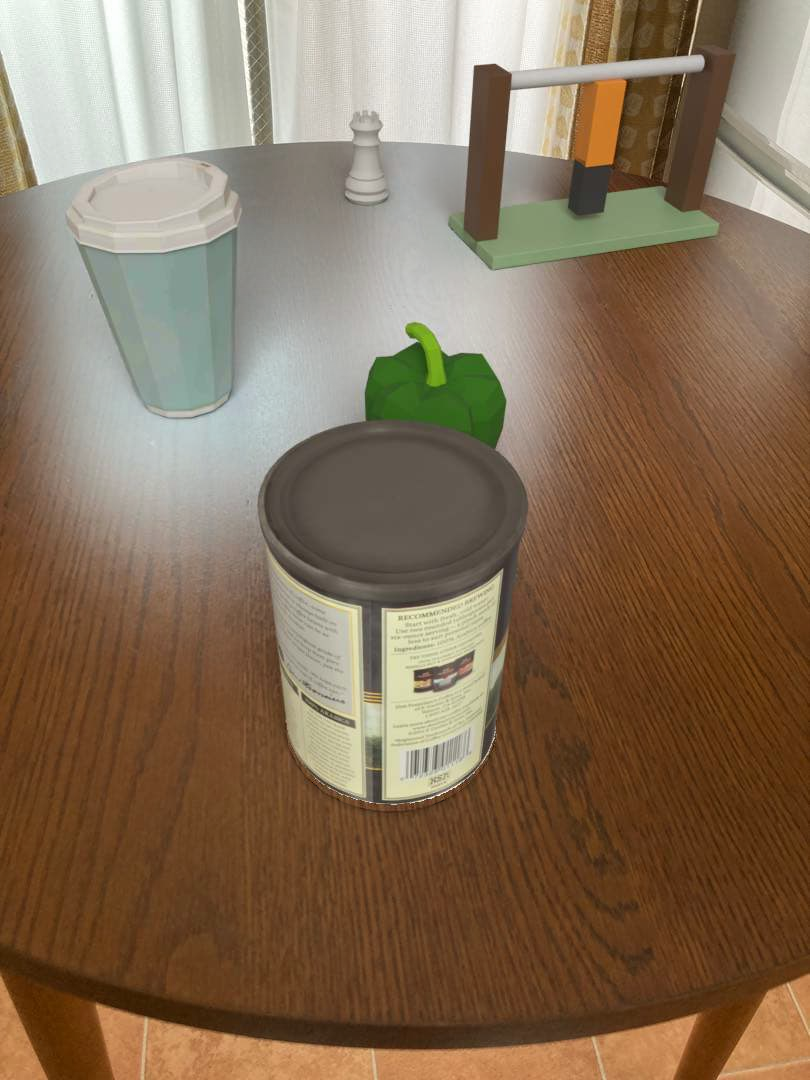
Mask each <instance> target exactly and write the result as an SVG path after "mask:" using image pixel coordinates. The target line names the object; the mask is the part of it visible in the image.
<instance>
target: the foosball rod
mask: <svg viewBox="0 0 810 1080" xmlns="http://www.w3.org/2000/svg"><path fill="white" fill-rule="evenodd" d="M704 63H705V61H704V57H703V56H702V55H694V54H691V55H679V56H670V57H669V56H668V57H657V58H645V59H637V60H636V59H635V60H626V61H625V60H624V61H623V60H622V61H612V62H603V63H590V64H578V65H567V66H557V67H546V68H536V69H535V68H534V69H523V70H522V69H521V70H511V71H509V72H510V73H511V74H512V80H511V91H519V90H529V89H540V88H550V87H560V86H571V85H581V84H583V86H582V87H583V88H582V95H581V101H580V109H579V116H578V123H577V130H576V137H575V143H574V144H575V145H574V151H573V167H572V174H571V181H570V188H569V196H568V198H569V202H568V209H570V210H571V211H572V212H573V213H575V214H576V215H577V216H581V215H588V214H595V213H603V212H604V208H605V202H606V196H607V193H608V189H609V184H610V183H609V182H610V176H611V171H612V165H613V164H614V160H615V155H616V154H615V153H616V147H617V142H618V136H619V129H620V123H621V118H622V111H623V106H624V99H625V94H626V87H627V80H635V79H644V78H645V79H646V78H654V77H663V76H664V77H665V76H675V75H676V76H677V75H686V74H687V75H688V74H691V73H698V72H701V71H702V70H703V68H704Z"/></svg>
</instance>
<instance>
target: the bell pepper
mask: <svg viewBox="0 0 810 1080" xmlns="http://www.w3.org/2000/svg"><path fill="white" fill-rule="evenodd" d="M404 331H405V334H406V335H407V336H408V338H409V339H413V340H414V339H415V340H416V342H413V343H412V344H410V345H409V346H407V347H405V348H404V349H402V350H400V351H398V352H397V353H395V354H393V355H386V356H385V355H383V356H376V357H375V359H374V361H373V363H372V365H371V367H370V369H369V371H368V376H367V379H366V385H365V389H364V415H365V416H364V417H365V421H371V420H413V421H422V422H428V423H433V424H438V425H442V426H446V427H449V428H452V429H455V430H457V431H461V432H464V433H466V434H468V435H470V436H473V437H475V438H477V439H479V440H481V441H483V442H484V443H486V444H488V445H489V446H491V447H492V448H493V449H495V450H496V448H497V446H498V443H499V440H500V438H501V435H502V432H503V429H504V425H505V424H504V423H505V415H506V408H507V398H506V395H505V392H504V390H503V387H502V384H501V381H500V380H499V378H498V376H497V374H496V373H495V372H494V370H493V368H492V366H491V365H490V364H489V362H488V360H487V359H486V357H485V356H484V354H483V353H478V352H477V353H475V352H459V353H455V354H451V355H448V354H447V353H446V352H444V351H443V350H442V347H441V345H440V343H439V341H438V339H437V337H436V335H435V333H434V332H433V331H432V330H431V329H429V328H428V327H427V326H426V325H425V324H423V323H421V322H416V321H413V322H408V323H407V324H406V326H405V327H404Z"/></svg>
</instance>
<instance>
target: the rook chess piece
mask: <svg viewBox="0 0 810 1080" xmlns="http://www.w3.org/2000/svg"><path fill="white" fill-rule="evenodd" d="M368 112H369V110H368V109H367V110H365V109H364V110H362V115H361V112H360V111H359V110H357V111H354V113H352V119H351V121H350V122H349V124H348V126H349V128H350V129H351V131H352V132H353V137H352V139H351V144H352V145H353V156H352V166H351V169H350V171H349V172H348V173H349V175H348V176H347V178H346V179H345V182H344V185H345V188H346V190H345V191H344V196H345V197H346V199H347V200H348V201H349V202H351V203H352V204H356V205H360V206H375V205H379V204H381V203H383V202H385V200H386V199H387V198H388V196H389V194H390V193H389V191H388V189H387V188H388V186H389V184H388V180H387V178H386V177H385V176H384V173H385V172H384V171H383V170H382V166H381V160H380V154H379V151H380V150H379V148H380V147H379V145H380V144H381V142H382V141H381V139H380V138H379V133H380V132H381V130H382V128H383V127H384V125H383V122H382V121H381V119H380V113H377V111H375V110H371V111H370V115H369V113H368Z"/></svg>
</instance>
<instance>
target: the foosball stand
mask: <svg viewBox="0 0 810 1080" xmlns="http://www.w3.org/2000/svg"><path fill="white" fill-rule="evenodd" d="M693 55H702V56H703V57H704V61H705V63H704V68H703V70H702V71H701V72H698V73H689V79H688V83H687V89H686V93H685V98H684V103H683V108H682V113H681V118H680V122H679V127H678V131H677V135H676V141H675V146H674V149H673V150H674V151H673V154H672V155H673V156H672V161H671V165H670V171H669V173H668V174H669V175H668V180H667V185H666V187H665V186H663V185H658V186H650V187H643V188H635V189H634V188H633V189H626V190H620V191H613V192H612V191H611V192H607V196H606V202H605V208H604V212H603V213H595V214H588V215H581V216H577V215H576V214H575V213H573V212H572V211H571V210H570V209H568V202H569V197H568V198H560V199H553V200H546V201H544V200H543V201H537V202H531V203H523V204H515V205H507V206H501V204H502V203H501V202H502V191H503V181H504V180H503V179H504V170H505V169H504V168H505V159H506V147H507V136H508V135H507V134H508V124H509V123H508V122H509V111H510V102H511V101H510V100H511V91H512V90H511V80H512V74H511V73H510V71H508V70H506V69H505V68H503V67H502V66H500V65H499V64H497V63H486V64H475V65H473V73H472V88H471V89H472V90H471V102H470V103H471V105H470V121H469V134H468V135H469V137H468V151H467V152H468V153H467V168H466V181H465V182H466V183H465V199H464V211H463V212H456V213H449V216H448V227H449V226H450V227H451V228H452V229H453V230H454V231H455V232H456V233H455V232H454V231H453V230H452V229H451V228H450V227H449V228H450V229H451V230H452V231H453V232H454V233H455V234H456V236H458V237H459V238H460V239H461V241H463V242H464V243H465V244H466V245H467V246H468V247H469V249H471V251H473V253H475V254H476V255H477V256H478V257H479V258H480V259H481V260H482V262H484V263H485V265H487V267H488V268H490V270H492V271H494V270H502V269H507V268H508V269H509V268H514V267H521V266H526V265H527V266H528V265H534V264H540V263H547V262H554V261H560V260H565V259H566V260H567V259H573V258H574V259H575V258H579V257H586V256H593V255H599V254H606V253H611V252H613V253H614V252H618V251H624V250H631V249H638V248H644V247H651V246H658V245H664V244H669V243H670V244H671V243H676V242H682V241H683V242H684V241H690V240H697V239H703V238H709V237H715V236H718V234H719V233H718V232H719V229H720V222H718V221H717V220H715V219H713V218H712V217H711V216H709V215H708V214H706V213H704V212H703V211H702V210H700V209H701V205H702V200H703V197H704V192H705V188H706V184H707V179H708V174H709V171H710V166H711V162H712V158H713V153H714V149H715V145H716V142H717V141H716V140H717V137H718V132H719V130H720V129H719V128H720V125H721V124H720V123H721V119H722V116H723V112H724V108H725V102H726V98H727V94H728V90H729V86H730V82H731V77H732V74H733V69H734V64H735V60H736V56H737V53H735V52H733V51H731V50H729V49H725V48H724V47H721V46H719V45H717V44H707V45H706V44H705V45H696V46H695V50H694V54H693Z"/></svg>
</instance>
